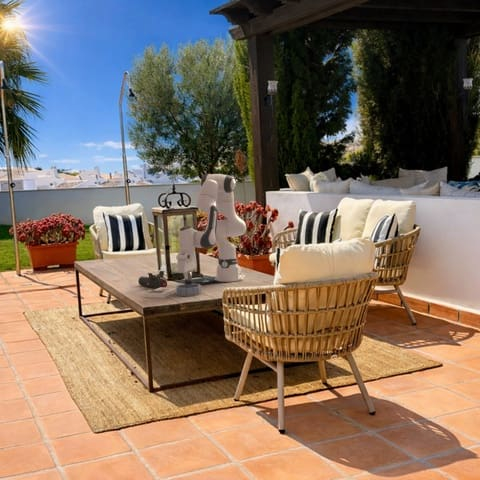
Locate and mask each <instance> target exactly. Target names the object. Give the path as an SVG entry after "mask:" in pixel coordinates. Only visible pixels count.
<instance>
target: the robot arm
mask: <svg viewBox="0 0 480 480" xmlns="http://www.w3.org/2000/svg"><path fill="white" fill-rule="evenodd" d="M200 186H201V188H200V191H199V194H198V197H197V202H196V203H197V206H198V209H199V210H200V211H201V212H204V214H206V215H207V220H206V226H205V230H204V231H201V230H196V229H194V228H193V227H192V226H189V225H188V226H187V225H186V226H182V227H180V228H179V229H178V237H177V238H178V245H179V247H178V254H177V255H176V261H177V262H176V263H177V272H178V273H179V274H183V276H184V277H183V278H184V280H185V279H188V275H187V273H188V271H189V272H191V275H192V276H193V270H194V269H197V267H198V266H197V265H198V264H197V256H196V255H195V253H196V252H195V248H198V249H199V248H200V249H201V248H202V249H205V250H206V249H207V250H211V249H213V248H214V247H215V245H216V246H217V250H218V260H217V263H218V265H217V266H216V277H215V278H214V281H217V282H223V283H224V282H228V283H230V282H236V281H237V282H238V281H243V280H244V278H245V276H246V275H245V274H242V269H241V267H240V265H239V264H238V259H239V258H238V257H237V251H236V250H237V249H236V245H235V244H234V243H232V242H230V241H228V240H227V239H226V238H230V237H231V238H232V237H239V236H240V237H241V236H243V235H245V233H246V231H247V223H246V222H245V221H244V220H243V219H242V218H240V217H239V216H238V214H237V212H236V207H235V198H234V197H235V195H234V190H235V189H236V186H237V182H236V178H235V177H234V176H232V175H229V174H223V173H213V174H211V173H206V174H204V175H203V176H202V177H201V180H200ZM219 215H220V216H224V217H225V218H226V219H219V218H218V217H219Z"/></svg>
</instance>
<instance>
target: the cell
mask: <svg viewBox="0 0 480 480" xmlns="http://www.w3.org/2000/svg"><path fill="white" fill-rule="evenodd" d="M187 275H188V279H185V278H184V284H193V278H192V277H193V274H192V275H191V272H189V271H188V273H187Z"/></svg>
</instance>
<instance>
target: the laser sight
mask: <svg viewBox="0 0 480 480" xmlns="http://www.w3.org/2000/svg"><path fill="white" fill-rule="evenodd" d="M164 273H165V271H164V270H159V273H158V274H153V273H152V272H147V275H148V276H140V277H139V278H138V284H139V286H144V287H147V288H153V289H158V288H160V287H164V288H168V287H167V286H168V281H167V280H166V279H164Z"/></svg>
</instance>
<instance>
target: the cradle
mask: <svg viewBox="0 0 480 480" xmlns="http://www.w3.org/2000/svg"><path fill="white" fill-rule="evenodd" d="M175 293H176V287H166V288H164V287H160V288H154V289H153V290H148V291H146V292H144V293H143V296H144V298H148V299H149V298H150V299H153V298H156V299H164V298H167V297H169V296H170V295H172V294H175Z"/></svg>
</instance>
